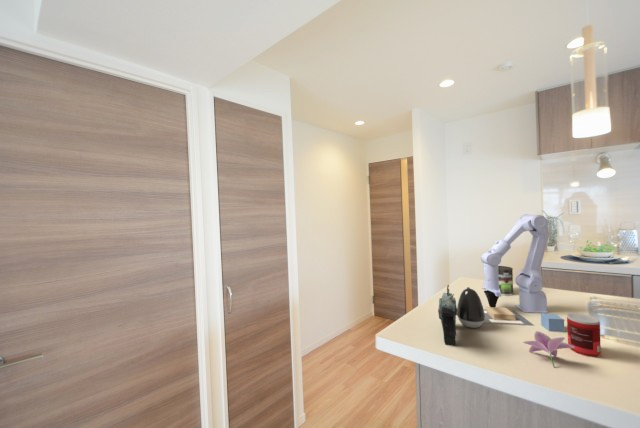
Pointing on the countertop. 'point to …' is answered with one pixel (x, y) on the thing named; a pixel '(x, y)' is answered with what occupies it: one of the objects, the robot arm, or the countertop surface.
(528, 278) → the robot arm
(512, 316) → the oak slab
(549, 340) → the lily
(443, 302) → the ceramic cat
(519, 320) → the letter card
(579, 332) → the canned food
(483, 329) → the countertop surface
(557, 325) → the blue cube
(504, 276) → the coffee can
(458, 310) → the black egg shaped container
